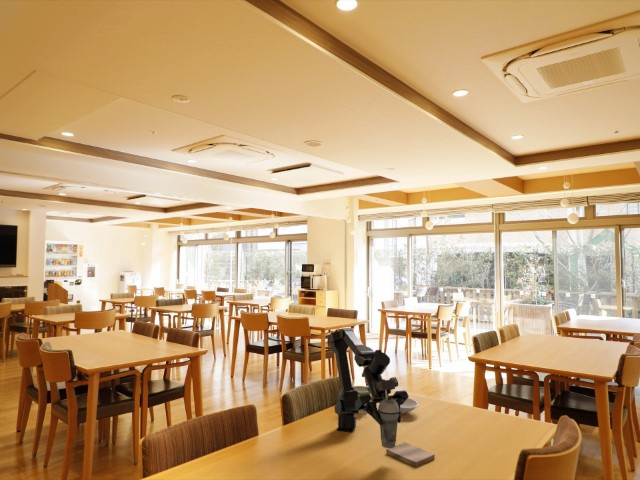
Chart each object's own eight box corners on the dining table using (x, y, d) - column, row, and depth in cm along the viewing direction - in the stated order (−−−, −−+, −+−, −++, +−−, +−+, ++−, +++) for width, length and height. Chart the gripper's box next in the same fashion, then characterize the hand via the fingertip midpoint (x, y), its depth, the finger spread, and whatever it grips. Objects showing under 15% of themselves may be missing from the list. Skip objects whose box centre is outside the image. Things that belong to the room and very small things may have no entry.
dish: (426, 417, 189) (426, 405, 189) (398, 421, 183) (398, 409, 184) (403, 405, 205) (403, 394, 206) (377, 408, 200) (377, 397, 200)
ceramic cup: (356, 416, 189) (356, 393, 190) (345, 409, 198) (345, 387, 199) (380, 411, 195) (381, 389, 196) (368, 405, 204) (368, 384, 205)
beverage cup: (399, 450, 140) (400, 388, 141) (377, 449, 141) (378, 387, 142) (398, 441, 147) (399, 382, 148) (377, 440, 148) (378, 381, 149)
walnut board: (386, 453, 151) (386, 449, 151) (404, 446, 157) (404, 442, 157) (416, 467, 141) (416, 462, 141) (434, 458, 147) (434, 454, 147)
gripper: (359, 371, 146) (374, 415, 135) (406, 367, 153) (424, 408, 142) (348, 388, 153) (362, 431, 142) (394, 383, 160) (410, 424, 149)
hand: (390, 423), depth 143 cm, fingers closed on beverage cup, 7 cm apart
